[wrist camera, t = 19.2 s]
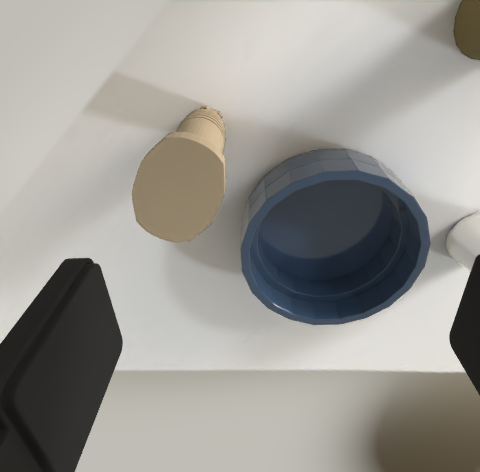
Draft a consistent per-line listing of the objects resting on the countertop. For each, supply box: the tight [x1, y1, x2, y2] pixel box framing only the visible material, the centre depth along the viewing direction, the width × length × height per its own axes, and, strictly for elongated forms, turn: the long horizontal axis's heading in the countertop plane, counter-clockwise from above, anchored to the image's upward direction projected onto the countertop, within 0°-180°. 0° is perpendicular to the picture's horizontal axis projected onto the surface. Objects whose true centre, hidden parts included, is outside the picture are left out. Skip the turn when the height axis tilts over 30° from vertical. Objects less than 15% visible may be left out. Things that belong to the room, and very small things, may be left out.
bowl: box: [241, 149, 430, 325], centre depth 36 cm, size 17×17×6 cm
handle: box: [132, 106, 226, 242], centre depth 27 cm, size 5×6×15 cm
